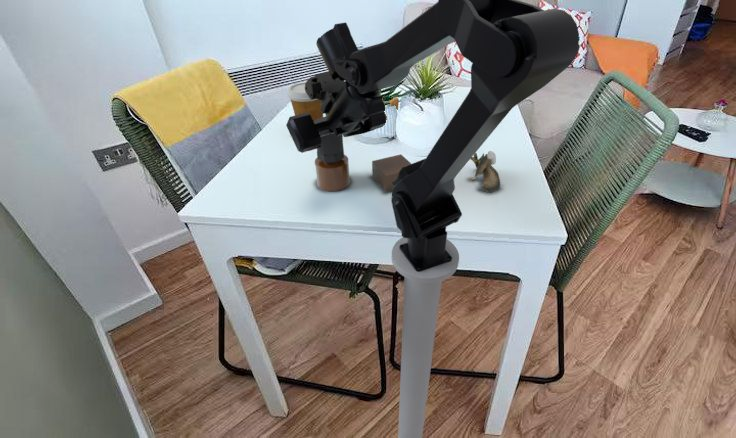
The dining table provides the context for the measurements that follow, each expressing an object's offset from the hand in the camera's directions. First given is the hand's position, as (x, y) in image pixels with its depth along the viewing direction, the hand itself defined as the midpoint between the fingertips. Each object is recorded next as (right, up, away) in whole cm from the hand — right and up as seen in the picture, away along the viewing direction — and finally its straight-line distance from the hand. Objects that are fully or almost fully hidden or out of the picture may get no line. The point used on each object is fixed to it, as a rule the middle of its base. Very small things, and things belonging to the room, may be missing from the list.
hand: (326, 140), depth 77 cm
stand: (+14, -8, +5) cm, 17 cm away
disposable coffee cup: (-7, +8, +27) cm, 28 cm away
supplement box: (+14, +6, +23) cm, 28 cm away
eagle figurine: (+33, -8, +4) cm, 34 cm away
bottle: (+1, -8, +5) cm, 10 cm away
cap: (+1, -3, +1) cm, 3 cm away
